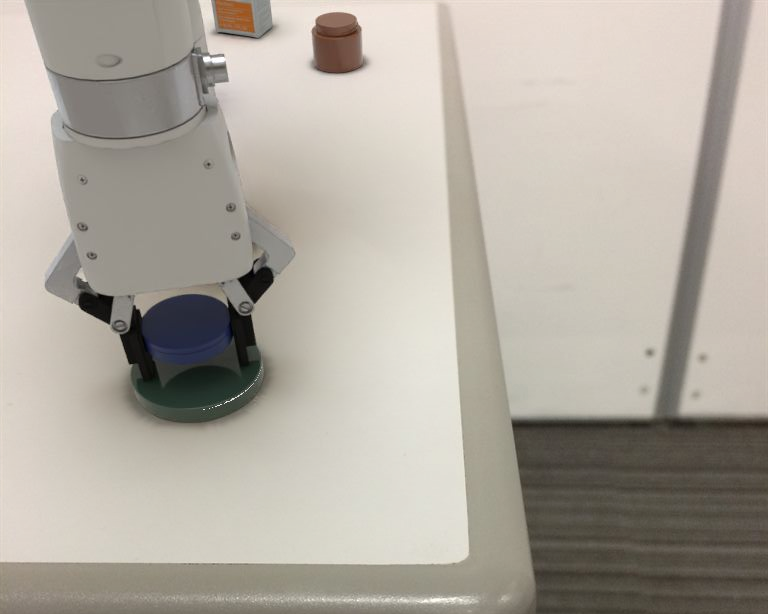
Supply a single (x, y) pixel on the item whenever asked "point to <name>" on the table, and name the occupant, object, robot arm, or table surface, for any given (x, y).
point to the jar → (337, 42)
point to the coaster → (199, 386)
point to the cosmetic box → (242, 16)
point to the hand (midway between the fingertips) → (195, 358)
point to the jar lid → (187, 329)
